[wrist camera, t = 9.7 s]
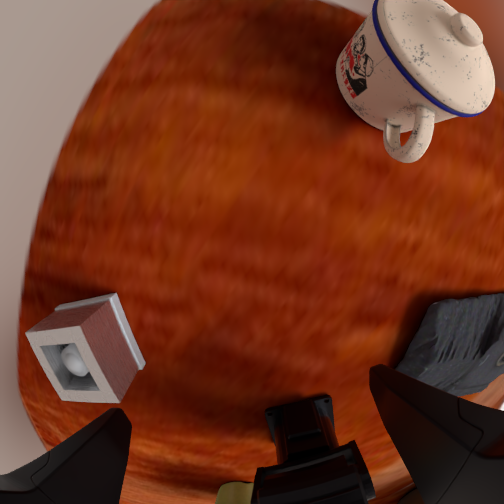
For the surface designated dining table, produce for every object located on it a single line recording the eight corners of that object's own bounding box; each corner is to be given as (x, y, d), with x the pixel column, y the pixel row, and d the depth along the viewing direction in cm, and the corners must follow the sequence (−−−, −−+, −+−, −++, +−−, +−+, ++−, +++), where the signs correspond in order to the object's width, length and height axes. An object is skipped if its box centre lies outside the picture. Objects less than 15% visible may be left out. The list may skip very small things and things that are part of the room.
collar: (139, 367, 21) (120, 402, 16) (85, 370, 22) (61, 400, 17) (110, 298, 20) (79, 325, 15) (56, 309, 20) (25, 332, 15)
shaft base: (145, 363, 22) (124, 402, 17) (89, 367, 23) (63, 399, 17) (116, 292, 21) (83, 321, 15) (60, 304, 21) (25, 329, 16)
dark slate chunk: (424, 268, 21) (455, 285, 17) (525, 291, 23) (547, 302, 18) (369, 403, 25) (385, 432, 20) (483, 387, 26) (499, 404, 21)
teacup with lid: (339, 26, 16) (392, -58, 5) (428, 67, 17) (510, 24, 6) (314, 148, 19) (391, 102, 7) (415, 185, 19) (526, 191, 8)
